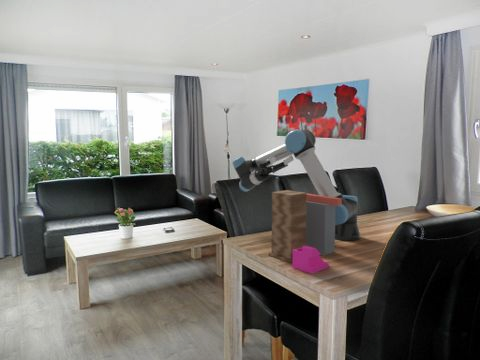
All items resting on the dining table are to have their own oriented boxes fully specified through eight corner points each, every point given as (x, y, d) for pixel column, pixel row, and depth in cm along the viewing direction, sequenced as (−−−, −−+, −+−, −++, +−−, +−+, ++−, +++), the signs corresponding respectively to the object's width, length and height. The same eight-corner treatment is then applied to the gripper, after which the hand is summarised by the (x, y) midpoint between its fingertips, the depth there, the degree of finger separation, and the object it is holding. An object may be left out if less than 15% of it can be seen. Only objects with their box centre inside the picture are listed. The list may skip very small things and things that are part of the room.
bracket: (311, 273, 160) (311, 249, 159) (292, 267, 167) (292, 244, 166) (329, 267, 168) (329, 243, 166) (310, 261, 175) (310, 238, 174)
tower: (268, 255, 183) (268, 192, 180) (285, 250, 191) (286, 189, 187) (291, 262, 173) (292, 195, 169) (308, 257, 181) (309, 192, 177)
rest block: (304, 249, 192) (304, 201, 189) (314, 246, 197) (315, 199, 194) (324, 255, 183) (325, 204, 180) (334, 252, 188) (335, 202, 185)
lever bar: (293, 198, 197) (293, 192, 197) (297, 197, 199) (297, 192, 199) (337, 205, 178) (337, 199, 177) (341, 204, 180) (341, 198, 179)
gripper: (276, 179, 227) (301, 163, 212) (245, 183, 211) (269, 166, 196) (272, 168, 229) (296, 151, 214) (240, 171, 213) (264, 152, 198)
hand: (283, 158), depth 205 cm, fingers open, 13 cm apart
